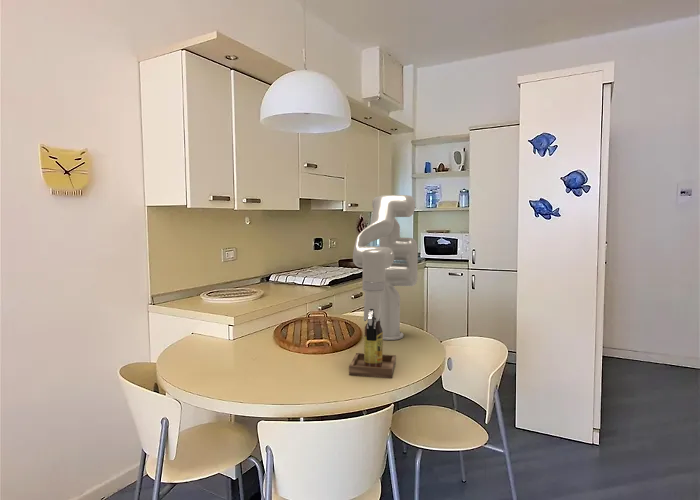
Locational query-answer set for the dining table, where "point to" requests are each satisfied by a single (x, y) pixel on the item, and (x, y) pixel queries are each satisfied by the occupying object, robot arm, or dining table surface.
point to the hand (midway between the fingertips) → (373, 336)
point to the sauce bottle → (373, 348)
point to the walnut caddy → (361, 370)
